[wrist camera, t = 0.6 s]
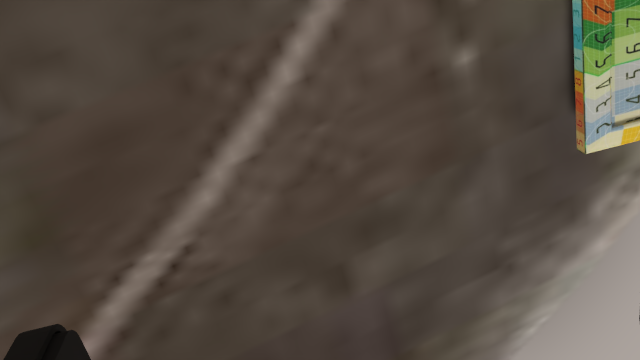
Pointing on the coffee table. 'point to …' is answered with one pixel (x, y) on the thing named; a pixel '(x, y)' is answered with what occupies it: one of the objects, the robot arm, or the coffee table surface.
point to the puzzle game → (606, 73)
